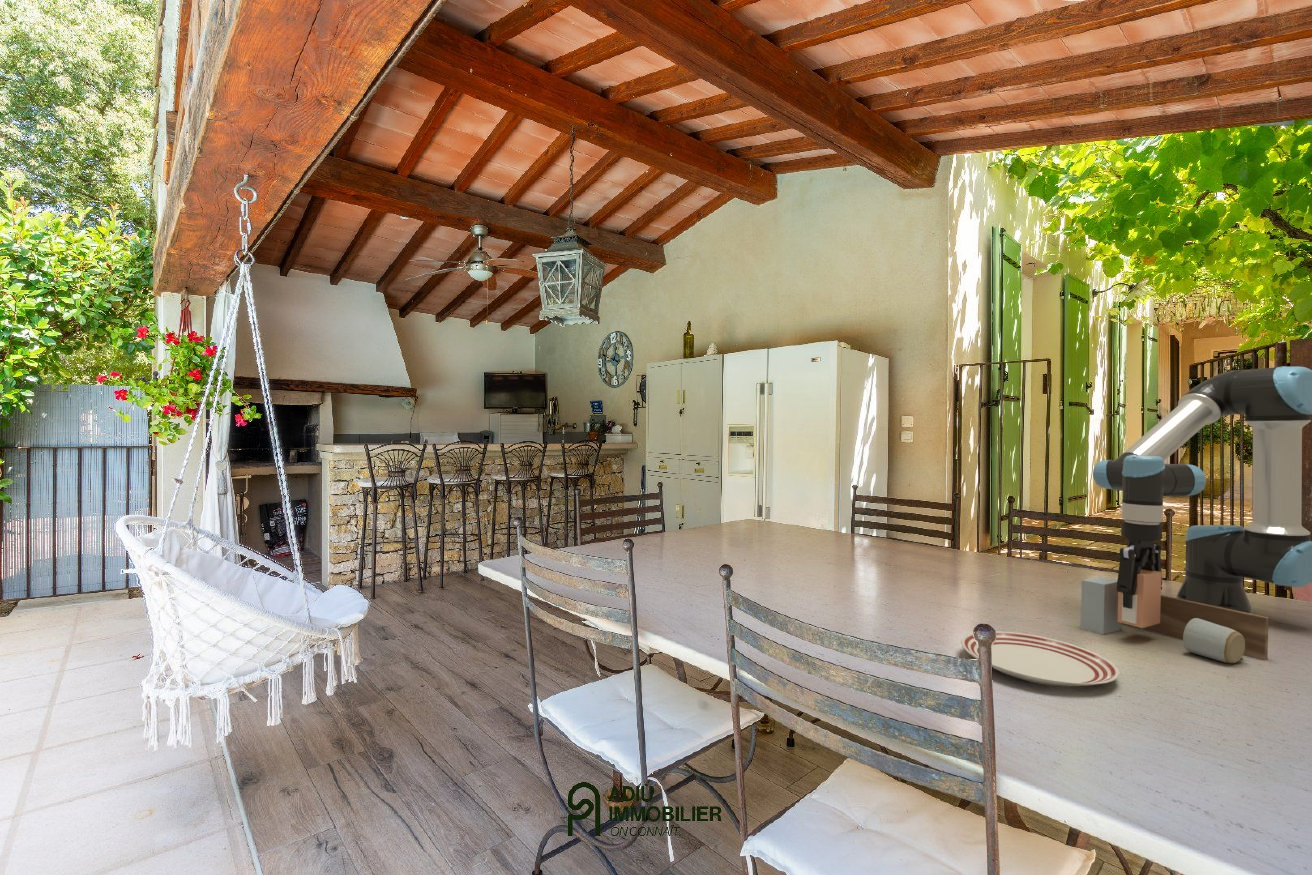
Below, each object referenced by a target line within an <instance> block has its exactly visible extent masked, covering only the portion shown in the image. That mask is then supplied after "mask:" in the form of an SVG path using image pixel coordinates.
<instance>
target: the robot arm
mask: <svg viewBox="0 0 1312 875" xmlns="http://www.w3.org/2000/svg"><path fill="white" fill-rule="evenodd" d="M1234 415H1240V416H1241V415H1244V423H1245V424H1246V425H1249V427H1251V428H1252V522H1250V523H1249V524H1248V525H1247V526H1245V527H1244V526H1243V525H1234V524H1233V525H1232V524H1231V525H1229V524H1228V525H1227V524H1203V525H1201V524H1200V525H1197V524H1196V525H1191V526H1189V527H1188V528H1187V530H1186V535H1185V540H1184V542H1185V569H1184V570H1185V577H1184V579H1183V582H1182V584H1181V586H1180V588H1179V590H1178V592H1177V595H1176V597H1175V598H1178V599H1183V600H1188V601H1193V602H1198V603H1203V604H1207V605H1212V606H1217V607H1222V608H1227V609H1231V610H1236V611H1241V612H1246V613H1251V614H1252V605H1251V603H1250V600H1249V598H1248V596H1247V593H1246V589H1245V587H1244V585H1243V584H1244V582H1243V581H1244V578H1246V579H1250V580H1251V579H1252V580H1256V581H1261V582H1264V583H1271V584H1274V585H1276V586H1279V587H1280V586H1284V587H1290V588H1291V587H1292V588H1303V587H1306V586H1307V587H1308V586H1309V585H1310V584H1311V583H1312V541H1311V531H1309V530H1307V528H1305V527H1303V525H1302V517H1303V516H1302V511H1303V510H1302V505H1303V504H1302V495H1303V494H1302V491H1303V490H1302V489H1303V488H1302V486H1303V485H1302V484H1303V483H1302V481H1303V480H1302V479H1303V478H1302V476H1303V471H1302V470H1303V468H1302V467H1303V466H1302V465H1303V461H1302V460H1303V458H1302V456H1303V442H1302V441H1303V428H1304V427H1305V426H1306V425H1308V424H1309V423H1310V422H1312V369H1310V368H1308V367H1305V366H1284V365H1283V366H1277V367H1264V368H1251V369H1237V370H1236V369H1235V370H1234V369H1233V370H1229V371H1226V372H1222V373H1218V374H1217V375H1216V374H1215V375H1214V376H1213V377H1211V378H1208V379H1206V380H1204V381H1203V382H1201V383H1199V384H1198V385H1196V386H1194V387H1193V388H1191V389H1190V390H1189V391H1187V392H1186V393H1185V394H1184V395H1183V396H1182V397H1180V398H1179V400H1178V402H1177V406H1176V407H1175V408H1174V409H1172V410H1171V411H1170V412H1169V413H1168V414H1167V415H1166V416H1165V417H1163V418H1161V420H1160V421H1158V422H1157V423H1156V424H1155V425H1154V426H1153V427H1152V428H1151V429H1149V430H1148V431H1147V432H1145V434H1144V435H1142V436H1141V437H1140V438H1139V439H1138V440H1136V441H1135V442H1134V443H1133V444H1132V445H1131V446H1129V448H1127V449H1126V450H1124V452H1123V453H1122V454H1120V455H1119V456H1118V457H1116V459H1114V460H1112V459H1107V460H1106V459H1105V460H1104V459H1103V460H1101V461H1098V462H1097V463H1096V464H1095V465H1094V467H1093V470H1092V477H1093V480H1094V482H1095V484H1096V485H1097V486H1098V487H1100V488H1102V489H1106V490H1107V489H1109V490H1112V491H1122V498H1121V505H1120V507H1119V508H1120V509H1121V519H1122V520H1123V521H1122V522H1121V523H1120V525H1121V526H1120V535H1121V537H1122V538H1124V539H1128V542H1127V546H1126V548H1125V547H1120V549H1119V563H1118V564H1119V566H1118V573H1117V579H1116V580H1117V591H1118V592H1122V621H1126V622H1130V623H1134V624H1136V623H1137V595H1135V592H1136V588H1137V574H1140V571H1141V569H1143V570H1148V571H1159V572H1161V591H1162V590H1163V586H1162V585H1163V575H1162V557H1161V554H1162V545H1160V544H1155V542H1160V541H1162V539H1163V525H1162V524H1160V523H1163V522H1164V497H1185V498H1186V497H1189V496H1195V495H1198V494H1199V493H1201V492H1202V491H1203V490H1204V489H1205V487H1206V484H1207V476H1206V474H1205V473H1204V471H1203V470H1202V469H1201V468H1200V467H1198V466H1196V465H1193V464H1188V463H1165V461H1166V460H1167V459H1168V458H1169V457H1170V456H1172V455H1173V454H1174V453H1175V452H1176V451H1177V450H1178V449H1180V448H1181V447H1182V446H1183V445H1184V444H1185V443H1187V442H1188V440H1190V439H1191V438H1192V437H1194V436H1195V435H1196V434H1197V433H1198V432H1200V430H1201V429H1203V428H1204V427H1205V426H1206V425H1210V424H1214V423H1216V422H1217V421H1218V420H1220V418H1223V417H1227V416H1234Z"/></svg>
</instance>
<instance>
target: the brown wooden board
mask: <svg viewBox="0 0 1312 875" xmlns="http://www.w3.org/2000/svg"><path fill="white" fill-rule="evenodd" d="M1194 618H1199V619H1202V620H1205V621H1208V622H1211V623H1214V624H1217V625H1220V626H1224V627H1227V628H1230V629H1233V630H1235V631H1237V632H1239V633H1240V634H1242V636H1243V637H1244V640H1245V650H1244V654H1243V656H1247V657H1252V658H1256V659H1259V660H1262V661H1263V660H1264V661H1267V660H1268V658H1269V657H1268V652H1269V648H1268V647H1269V622H1270V621H1269V616H1264V615H1260V614H1256V613H1252V612H1251V613H1246V612H1241V611H1236V610H1231V609H1227V608H1222V607H1217V606H1212V605H1207V604H1203V603H1198V602H1193V601H1188V600H1183V599H1178V598H1176V597H1173V596H1168V595H1163V594H1161V605H1160V623H1159V624H1155V625H1152V626H1148V627H1145V628H1140V627H1136V626H1132V625H1128V624H1124V623H1121V625H1125V626H1130V627H1133V628H1138V629H1141V630H1145V631H1149V632H1153V633H1157V634H1161V635H1163V636H1169V637H1173V638H1177V639H1180V640H1183V634H1184V629H1185V627H1186V625H1187V623H1188V622H1189V621H1190V620H1192V619H1194Z"/></svg>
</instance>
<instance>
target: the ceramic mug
mask: <svg viewBox="0 0 1312 875" xmlns="http://www.w3.org/2000/svg"><path fill="white" fill-rule="evenodd" d="M1182 644H1183V647H1184V649H1185V650H1186V651H1187V652H1188V653H1191V654H1194V655H1198V656H1202V657H1205V658H1208V659H1212V660H1215V661H1217V662H1222V663H1225V664H1226V663H1227V664H1236V663H1237V662H1239V661H1240V660H1241V659H1242V657H1243V656H1244V655H1243V654H1244V650H1245V640H1244V637H1243V636H1242V634H1240V633H1239V632H1237V631H1235V630H1233V629H1230V628H1227V627H1224V626H1220V625H1217V624H1214V623H1211V622H1208V621H1205V620H1202V619H1199V618H1194V619H1192V620H1190V621H1189V622H1188V623H1187V625H1186V627H1185V629H1184V634H1183V639H1182Z"/></svg>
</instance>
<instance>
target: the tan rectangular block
mask: <svg viewBox="0 0 1312 875" xmlns="http://www.w3.org/2000/svg"><path fill="white" fill-rule="evenodd" d="M1161 572H1162V571H1161ZM1161 572H1159V571H1148V570H1143V569H1141V571H1140V574H1137V588H1136V592H1135V595H1137V623H1136V624H1134V623H1130V622H1126V621H1122V592H1118V620H1117V622H1120V623H1124V624H1123V625H1125V624H1128V625H1127V626H1129V625H1132V626H1131V627H1133V626H1136V627H1135V628H1137V627H1140V628H1139V629H1141V628H1145V627H1148V626H1152V625H1155V624H1159V623H1160V605H1161V595H1162V590H1161V587H1162V586H1161Z"/></svg>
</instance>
